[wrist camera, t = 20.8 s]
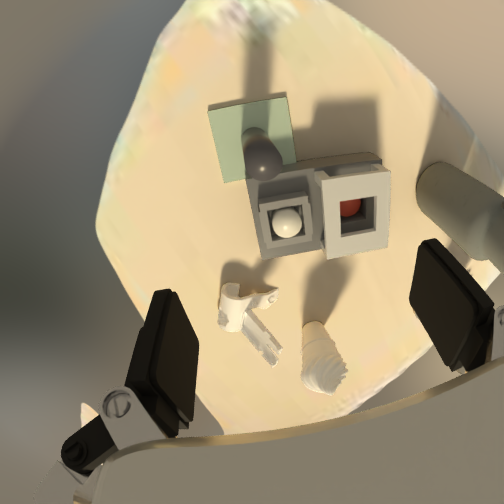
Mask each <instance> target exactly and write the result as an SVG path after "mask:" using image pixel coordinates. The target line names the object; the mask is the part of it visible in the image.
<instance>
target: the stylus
mask: <svg viewBox="0 0 504 504" xmlns="http://www.w3.org/2000/svg"><path fill="white" fill-rule="evenodd" d="M241 143H242V150H243V156H244V163H245V168H246V171H247V173H248V174H249V175H250V176H251V177H252V178H254V179H255V180H258V181H268V180H271V179H273V178H275V177H276V176H277V175H278V174H279V173H280V171H281V169H282V166H283V160H282V156H281V154H280V153H279V151H278V150H277V148H276V147H275V145H274V144H273V143H272V141H271V140H270V138H269V137H268V135H267V134H266V133H265V131H264V130H262V129H261V128H258V127H251V128H248V129H247V130H245V131H244V133H243V134H242V137H241Z"/></svg>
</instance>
